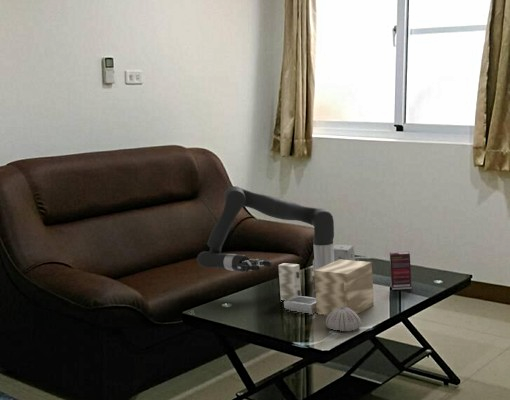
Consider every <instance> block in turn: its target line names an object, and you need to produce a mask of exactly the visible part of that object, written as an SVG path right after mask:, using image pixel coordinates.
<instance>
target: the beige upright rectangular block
mask: <svg viewBox="0 0 510 400" xmlns="http://www.w3.org/2000/svg"><path fill="white" fill-rule="evenodd" d="M300 271H301V269H300V264H297V263H286V262H283V263H281V264H278V276H279V277H278V279H279V280H278V281H279V294H280V295H279V296H280V301H281V300H285V301H286V300H288V299H290V298H292V297H294V296H296V295H297V296H302V287H301V286H302V284H301V274H300V273H301V272H300Z"/></svg>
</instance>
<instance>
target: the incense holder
mask: <svg viewBox="0 0 510 400" xmlns="http://www.w3.org/2000/svg"><path fill="white" fill-rule="evenodd" d="M333 246H334V262H335V261H337V260H339V259H343V260H353V261H356V255H355V248H354V245H353V244H335V245H333Z"/></svg>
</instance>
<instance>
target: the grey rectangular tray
mask: <svg viewBox="0 0 510 400" xmlns="http://www.w3.org/2000/svg"><path fill="white" fill-rule="evenodd" d="M283 307H284V308H286V309H289V310H291V311H297V312H302V313H301V314H304V313H309V314H308V315H311V314H312V315H314V314H316V313H317V308H316V298H313V297H311V296H302V295H301V296H297V295H296V296H294V297H292V298H290V299H288V300H286V301H284V302H283ZM297 312H296V313H297ZM315 312H316V313H315ZM313 313H314V314H313Z"/></svg>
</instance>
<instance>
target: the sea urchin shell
mask: <svg viewBox="0 0 510 400" xmlns="http://www.w3.org/2000/svg"><path fill="white" fill-rule="evenodd" d="M326 316H327V317H326V318H325V326H326V328H328V329H330V330H331V329H333V330H332V331H334V330H340V331H339V332H341V331H342V332H343V331H344V332H347V331H348V332H352V330H353V331H355V330H358V329H359V328H360V326H361V323H362V322H361V318H360V317H359V315H358V314H356V313H355V312H354V311H353V310H351V309H350V308H348V307H338V308H336V309H334V311H332V312H331V313H330V314H329V315H326Z"/></svg>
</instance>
